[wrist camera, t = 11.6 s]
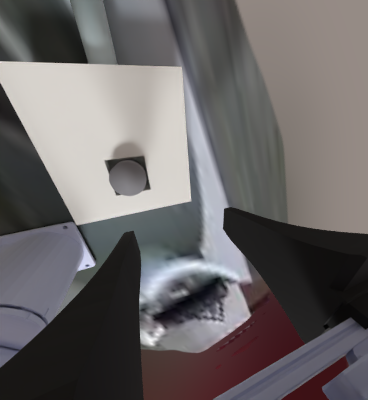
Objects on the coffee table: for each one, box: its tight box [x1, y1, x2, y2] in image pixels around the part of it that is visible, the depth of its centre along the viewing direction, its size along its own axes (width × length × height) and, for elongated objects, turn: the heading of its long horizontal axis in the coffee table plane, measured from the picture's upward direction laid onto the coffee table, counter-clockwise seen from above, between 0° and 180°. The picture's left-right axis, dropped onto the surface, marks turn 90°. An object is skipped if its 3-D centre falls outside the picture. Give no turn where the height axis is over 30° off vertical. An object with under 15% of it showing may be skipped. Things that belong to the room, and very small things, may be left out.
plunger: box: [109, 159, 146, 196], centre depth 12 cm, size 3×3×2 cm
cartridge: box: [70, 0, 118, 65], centre depth 9 cm, size 14×3×5 cm, turn 4°
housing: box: [0, 61, 191, 225], centre depth 14 cm, size 12×12×4 cm
